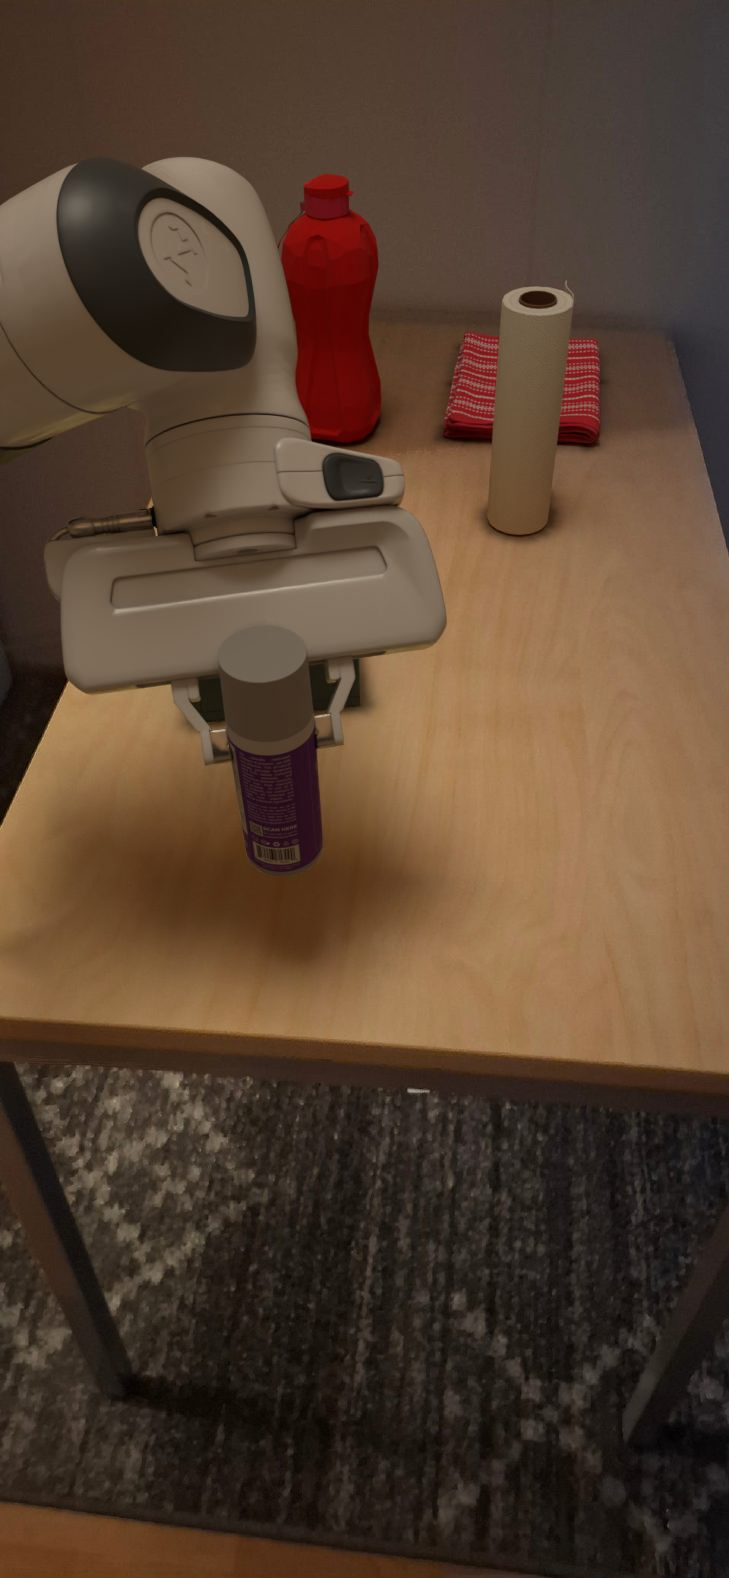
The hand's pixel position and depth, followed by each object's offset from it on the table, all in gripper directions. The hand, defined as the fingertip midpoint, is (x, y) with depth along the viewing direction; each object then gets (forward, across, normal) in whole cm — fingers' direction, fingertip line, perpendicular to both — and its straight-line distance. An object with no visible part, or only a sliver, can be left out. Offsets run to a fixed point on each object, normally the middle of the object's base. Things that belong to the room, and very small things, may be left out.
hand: (275, 755), depth 56 cm
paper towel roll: (-20, +30, +45) cm, 57 cm away
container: (+6, 0, +6) cm, 9 cm away
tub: (-8, +2, +34) cm, 35 cm away
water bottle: (-36, +14, +62) cm, 73 cm away
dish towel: (-37, +37, +62) cm, 82 cm away
